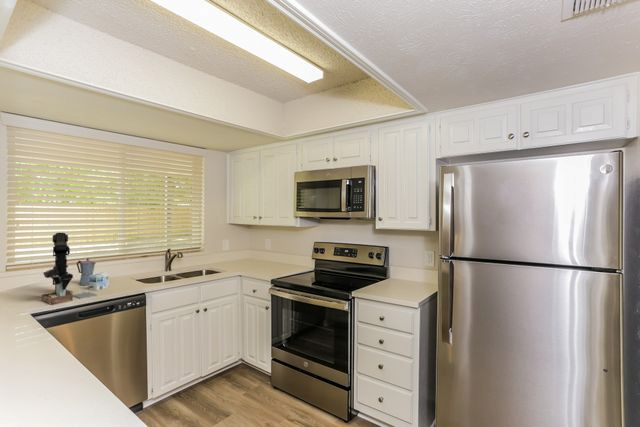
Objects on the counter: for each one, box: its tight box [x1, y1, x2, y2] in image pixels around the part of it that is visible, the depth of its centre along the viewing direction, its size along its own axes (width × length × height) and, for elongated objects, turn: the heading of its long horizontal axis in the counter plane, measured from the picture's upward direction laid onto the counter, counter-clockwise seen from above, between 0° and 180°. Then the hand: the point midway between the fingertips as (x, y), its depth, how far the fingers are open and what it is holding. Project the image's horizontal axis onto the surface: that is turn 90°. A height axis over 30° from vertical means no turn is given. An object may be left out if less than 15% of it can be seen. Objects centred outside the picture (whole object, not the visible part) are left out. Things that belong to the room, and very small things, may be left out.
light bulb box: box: [89, 272, 110, 291], centre depth 237 cm, size 11×7×11 cm, turn 168°
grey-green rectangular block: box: [56, 284, 67, 297], centre depth 206 cm, size 6×3×10 cm, turn 58°
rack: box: [41, 288, 74, 306], centre depth 204 cm, size 16×10×6 cm, turn 58°
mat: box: [73, 291, 98, 299], centre depth 217 cm, size 12×10×1 cm
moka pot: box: [76, 258, 96, 286], centre depth 250 cm, size 10×15×20 cm, turn 89°
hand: (61, 288), depth 206 cm, fingers open, 9 cm apart
